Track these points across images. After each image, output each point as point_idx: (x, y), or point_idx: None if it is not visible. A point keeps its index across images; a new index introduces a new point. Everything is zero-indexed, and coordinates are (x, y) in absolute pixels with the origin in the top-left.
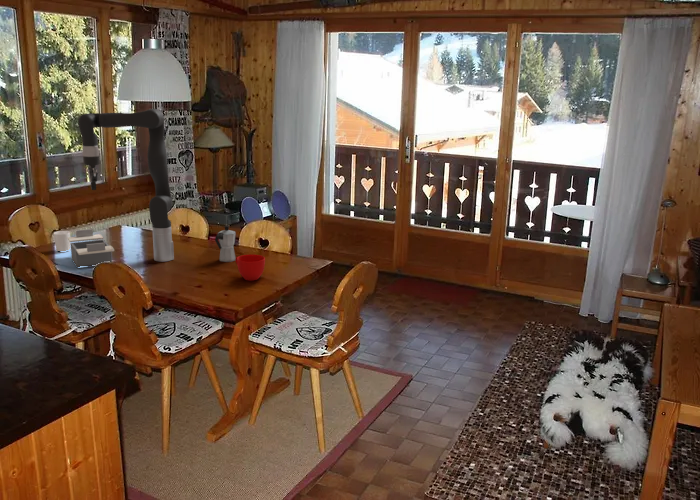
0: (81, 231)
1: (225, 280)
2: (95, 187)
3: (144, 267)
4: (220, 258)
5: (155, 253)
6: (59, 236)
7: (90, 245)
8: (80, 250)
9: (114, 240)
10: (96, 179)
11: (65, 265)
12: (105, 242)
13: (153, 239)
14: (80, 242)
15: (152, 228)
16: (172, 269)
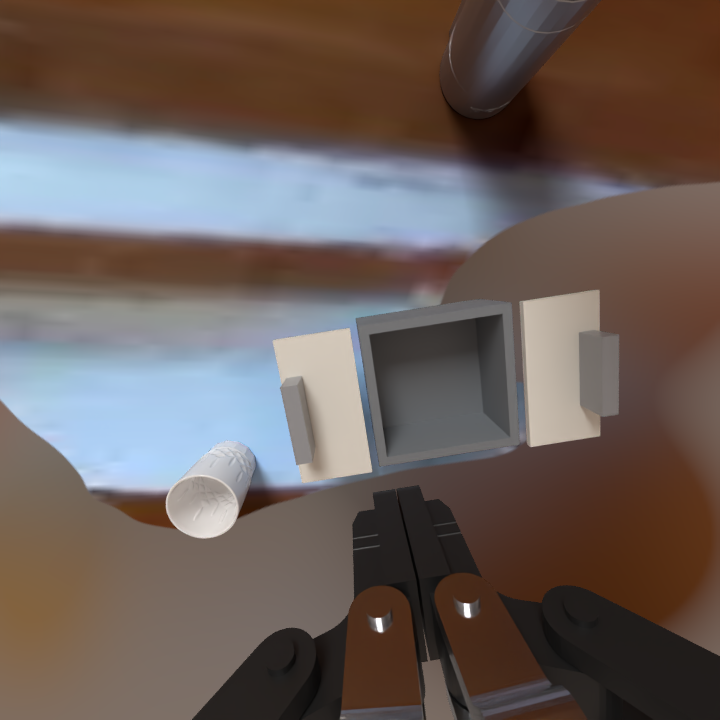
0: (308, 435)
1: None
2: (451, 515)
3: (566, 176)
4: None
5: (512, 96)
6: (240, 509)
7: (615, 399)
8: (557, 430)
9: (91, 265)
10: (692, 654)
11: None
12: (419, 321)
13: (536, 58)
14: (382, 427)
15: (567, 9)
16: (643, 58)
